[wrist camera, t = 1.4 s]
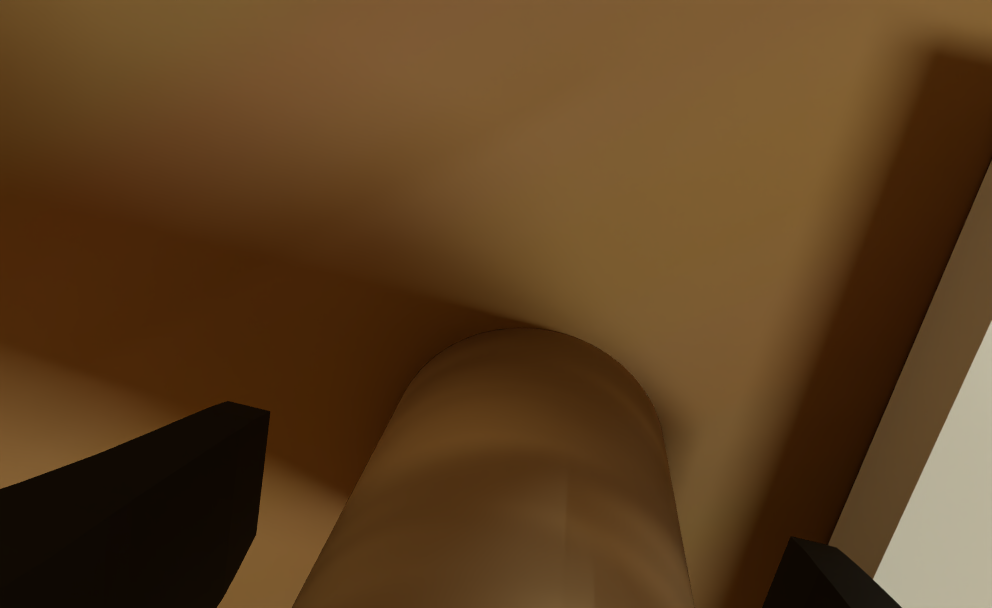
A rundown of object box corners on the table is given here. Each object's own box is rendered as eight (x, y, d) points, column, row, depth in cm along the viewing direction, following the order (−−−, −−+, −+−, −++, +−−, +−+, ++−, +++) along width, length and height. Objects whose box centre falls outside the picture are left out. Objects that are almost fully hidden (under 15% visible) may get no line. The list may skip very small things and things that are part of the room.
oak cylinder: (699, 365, 12) (840, 793, 5) (624, 596, 13) (659, 1159, 7) (415, 299, 12) (196, 628, 5) (373, 534, 13) (162, 1020, 7)
